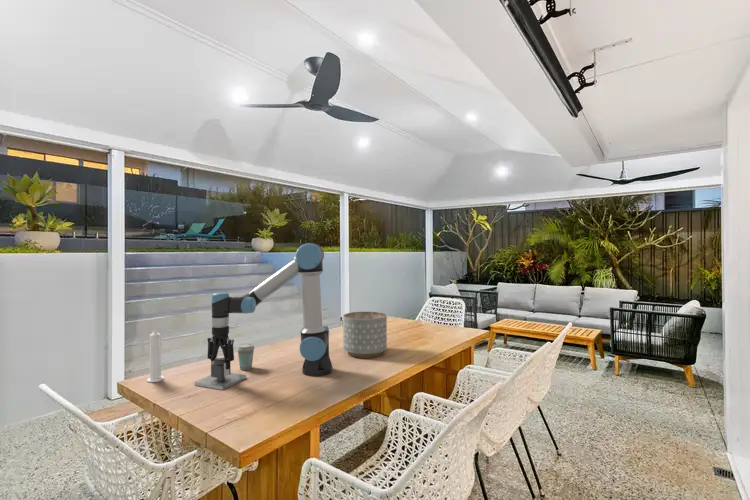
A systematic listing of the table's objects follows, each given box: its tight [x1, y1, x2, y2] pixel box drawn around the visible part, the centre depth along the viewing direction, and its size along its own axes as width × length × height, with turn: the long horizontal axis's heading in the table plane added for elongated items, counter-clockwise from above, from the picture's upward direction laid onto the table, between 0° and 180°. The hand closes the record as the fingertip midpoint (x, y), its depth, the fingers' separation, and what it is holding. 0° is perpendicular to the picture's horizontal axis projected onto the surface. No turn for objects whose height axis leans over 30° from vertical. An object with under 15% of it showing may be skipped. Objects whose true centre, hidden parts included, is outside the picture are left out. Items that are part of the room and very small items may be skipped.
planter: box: [342, 311, 388, 359], centre depth 230 cm, size 26×26×22 cm
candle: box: [146, 327, 165, 383], centre depth 186 cm, size 7×7×25 cm
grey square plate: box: [193, 372, 247, 391], centre depth 183 cm, size 16×16×6 cm
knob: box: [210, 357, 232, 378], centre depth 183 cm, size 6×6×8 cm
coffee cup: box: [236, 343, 255, 371], centre depth 203 cm, size 8×8×12 cm
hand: (220, 374), depth 183 cm, fingers closed on knob, 6 cm apart
